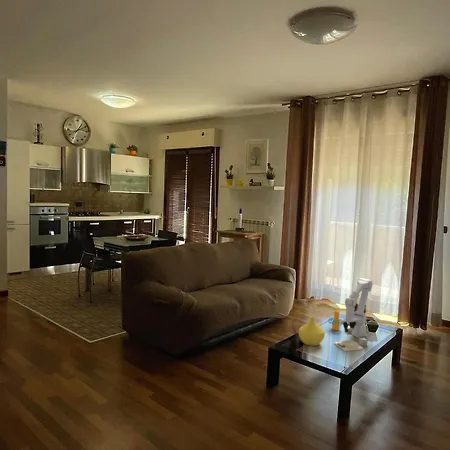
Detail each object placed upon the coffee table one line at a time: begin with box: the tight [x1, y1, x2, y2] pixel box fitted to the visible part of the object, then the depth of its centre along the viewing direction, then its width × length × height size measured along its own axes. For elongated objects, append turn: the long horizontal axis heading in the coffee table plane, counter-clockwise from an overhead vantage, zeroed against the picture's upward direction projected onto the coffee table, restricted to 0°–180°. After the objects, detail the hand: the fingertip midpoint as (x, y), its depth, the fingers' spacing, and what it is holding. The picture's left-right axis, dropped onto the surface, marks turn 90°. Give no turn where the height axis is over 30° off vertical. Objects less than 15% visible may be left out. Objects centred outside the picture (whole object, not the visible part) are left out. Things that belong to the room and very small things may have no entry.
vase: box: [298, 316, 325, 347], centre depth 278 cm, size 18×18×19 cm
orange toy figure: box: [327, 309, 343, 331], centre depth 311 cm, size 12×10×15 cm
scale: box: [333, 339, 364, 352], centre depth 276 cm, size 15×13×2 cm
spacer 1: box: [344, 325, 353, 336], centre depth 288 cm, size 4×4×5 cm
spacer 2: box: [358, 337, 368, 348], centre depth 279 cm, size 4×4×5 cm
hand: (348, 331), depth 288 cm, fingers closed on spacer 1, 4 cm apart
